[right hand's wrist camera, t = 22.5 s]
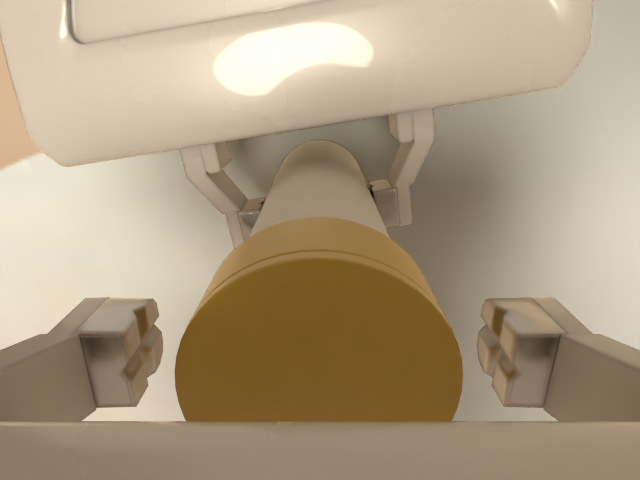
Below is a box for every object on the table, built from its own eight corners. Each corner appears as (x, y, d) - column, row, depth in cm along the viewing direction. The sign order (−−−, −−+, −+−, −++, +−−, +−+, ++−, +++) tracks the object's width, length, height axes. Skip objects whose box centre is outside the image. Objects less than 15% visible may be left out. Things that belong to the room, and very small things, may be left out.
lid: (371, 438, 12) (383, 522, 9) (176, 373, 11) (141, 447, 9) (475, 270, 10) (520, 325, 8) (251, 176, 9) (229, 209, 7)
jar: (309, 122, 23) (287, 213, 8) (379, 173, 24) (481, 342, 9) (261, 192, 24) (163, 386, 9) (329, 238, 25) (342, 481, 10)
